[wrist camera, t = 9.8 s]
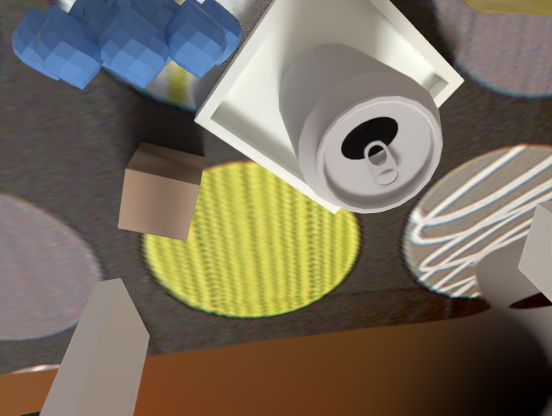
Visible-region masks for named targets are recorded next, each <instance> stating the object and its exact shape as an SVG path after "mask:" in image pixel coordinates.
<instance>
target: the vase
mask: <svg viewBox="0 0 552 416" xmlns="http://www.w3.org/2000/svg"><path fill="white" fill-rule="evenodd" d="M464 1H465V2H466V3H467V4H468V5H469V6H470V7H471V8H472V9H473V10H475V11H477V12H479V13H484V14H498V13H519V14H533V15H546V16H552V0H464Z"/></svg>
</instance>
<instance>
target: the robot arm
mask: <svg viewBox="0 0 552 416" xmlns="http://www.w3.org/2000/svg"><path fill="white" fill-rule="evenodd" d="M518 269H519V270H520V271H521V272H522V273H523V274H524V275H525V276H526V277H527V278H528V279H529V280H530V281H531V282H532V283H533V284H534V285H535V286H536V287H537V288H538V289H539V290H540V291H541V292H542V293H543V294H544V295H545V296H546V297H547V298H548V299H549V300H550V301H551V302H552V201H546V202H541V203H538V204H537V207H536V210H535V214H534V217H533V220H532V223H531V227H530V230H529V233H528V236H527V240H526V243H525V246H524V249H523V253H522V256H521V259H520V262H519V266H518ZM149 337H150V336H149V334H148V332H147V330H146V328H145V326H144V324H143V322H142V320H141V318H140V316H139V314H138V312H137V310H136V308H135V306H134V304H133V302H132V300H131V298H130V296H129V294H128V292H127V290H126V288H125V286H124V284H123V282H122V280H121V278H119V279H113V280H108V281H102V282H97V283H95V285H94V287H93V290H92V292H91V294H90V297H89V299H88V301H87V304H86V306H85V309H84V311H83V313H82V316H81V318H80V320H79V323H78V325H77V328H76V330H75V332H74V335H73V337H72V339H71V342H70V344H69V346H68V349H67V351H66V354H65V356H64V358H63V361H62V363H61V365H60V368H59V370H58V373H57V375H56V377H55V380H54V382H53V384H52V387H51V389H50V392H49V394H48V396H47V399H46V401H45V404H44V406H43V408H42V411H41V412H36V413H30V414H25V415H21V416H133V413H134V409H135V404H136V399H137V394H138V389H139V384H140V379H141V375H142V370H143V365H144V361H145V356H146V351H147V346H148V341H149Z"/></svg>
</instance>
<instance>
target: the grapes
mask: <svg viewBox="0 0 552 416" xmlns="http://www.w3.org/2000/svg"><path fill="white" fill-rule="evenodd" d="M242 36H243V35H242V30H241V27H240V24H239V22H238V20H237V19H236V18H235V17H234V16H233V15H232V14H231V13H230V12H229V11H227V10H226V9H225V8H224V7H223V6H222V5H221V4H219V3H218V2H217V1H215V0H205V1H204V2H203V3H202V4H200V3H199V2H198V1H196V0H186V1H185V2H184V3H183V4H182V5H179V4H177V3H176V2H175V1H174V0H76V1H75V3H74V4H73V6H72V8H71V9H70V11H69V13H67V12H65V11H63V10H62V9H60V8H58V7H57V6H55V5H52V6H51V7H50V9H49V10H48V11H47V12H46V13H45V14H43V13H41V12H39V11H38V10H36V9H34V8H31V9H30V10H29V11H28V12H27V14H26V15H25V16H24V17H23V19H22V20H21V22H20V23H19V25H18V27H17V28H16V30H15V32H14V33H13V35H12V46H13V50H14V53H15V54H16V55H17V56H18V57H19V58H20V59H21V60H22V62H24V63H25V64H27V65H28V66H30V67H31V68H33V69H35V70H37V71H39V72H41V73H42V74H44V75H46V76H49V77H51V78H53V79H55V80H57V81H58V80H59V79H62V80H64V81H66V82H67V83H69V84H72V85H74V86H76V87H78V88H80V89H84V88H85V86H86V85H87V84H88V83H89V82H90V81H91V80H92V79H93V78H94V77H95V75H96V74H97V73H98V72H99V70H100V68H101V67H102V66H105V67H107V68H109V69H110V70H112V71H115V72H116V73H117V74H118V75H119V76H121V77H123V78H125V79H126V80H128V81H130V82H132V83H134V84H135V85H137V86H139V87H141V88H143V89H144V88H145V87H146V86H147V85H149V84H150V83H151V82H152V81H153V80H154V79H155V78H156V76H157V75H158V74H159V73H160V72H161V71H162V70H163V67H165V66H166V65H167V64H168V63H169V62H170V61H171V60H173V61H175V62H176V63H177V64H178V65H179V66H181V67H182V68H184V69H186V70H187V71H189V72H190V73H192V74H194V75H195V76H197V77H198V78H201V77H203V76H204V75H205V74H206V73H207V72H208V71H210V70H211V69H212V67H213V66H214V65H217V66H219V65H220V64H221V63H223V62H224V61H225V60H226V59H227V58H228V57H229V56H230V55H231V54H232V53H233V52H234V51H235V49H236V48H237V47H238V45H239V44H240V41H241V38H242Z"/></svg>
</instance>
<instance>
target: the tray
mask: <svg viewBox="0 0 552 416" xmlns="http://www.w3.org/2000/svg"><path fill="white" fill-rule="evenodd" d="M335 43H341V44H344V45H347V46H350V47H353V48H356V49H358V50H360V51H362V52H364V53H365V54H367V55H369V56H371V57H373V58H375V59H377V60H379V61H381V62H382V63H384V64H386V65H388V66H390V67H392V68H394V69H396V70H398V71H399V72H401V73H403V74H405V75H407V76H409V77H411V78H413V79H414V80H415V81H416V82H418V83H419V84H420V85H421V86H422V87H424V88H425V89H426V90H427V91H428V92H429V93H430V95H431V97H432V98H433V100H434V102H435V104H436V106H437V108H438V107H439V106H440V105H441V104H442V103H443V102H444V101H445V100H446V99H447V98H448V97H449V96H450V95H451V94H452V93H453V92H454V91H455V90H456V89H457V88H458V87H459V86H460V85H461V84H462V83H463V82H464V80H463V79H462V78H461V77H460V75H459V74H458V73H457V72H456V71H455V70H454V69H453V68H452V67H451V66H450V65H449V64H448V63H447V62H446V60H445V59H444V58H443V57H442V56H441V55H440V54H439V53H438V52H437V51H436V50H435V49H434V48H433V47H432V45H431V44H430V43H429V42H428V41H427V40H426V39H425V38H424V37H423V36H422V35H421V34H420V33H419V32H418V30H417V29H416V28H415V27H414V26H413V25H412V24H411V23H410V22H409V21H408V20H407V19H406V18H405V17H404V15H403V14H402V13H401V12H400V11H399V10H398V9H397V8H396V7H395V6H394V5H393V4H392V3H391V1H390V0H272V1H271V3H270V4H269V6H268V7H267V9H266V10H265V12H264V13H263V15H262V16H261V18H260V19H259V21H258V22H257V24H256V25H255V27H254V28H253V30H252V31H251V32H250V34H249V35H248V37H247V38H246V40H245V41H244V43H243V44H242V46H241V47H240V49H239V50H238V52H237V53H236V55H235V56H234V58H233V59H232V61H231V62H230V64H229V65H228V66H227V68H226V69H225V71H224V72H223V74H222V75H221V77H220V78H219V80H218V81H217V83H216V84H215V86H214V87H213V89H212V90H211V92H210V93H209V95H208V96H207V98H206V99H205V101H204V102H203V103H202V105H201V106H200V108H199V109H198V111H197V112H196V116H195V120H194V121H195V122H197V123H198V124H200V125H201V126H203V127H204V128H206V129H207V130H209V131H210V132H212V133H213V134H215V135H216V136H218V137H219V138H221V139H222V140H224V141H225V142H227V143H228V144H230V145H231V146H233V147H234V148H236V149H237V150H239V151H240V152H242V153H243V154H245V155H246V156H248V157H249V158H251V159H252V160H254V161H255V162H257V163H258V164H260V165H261V166H263V167H264V168H266V169H267V170H269V171H270V172H272V173H273V174H275V175H276V176H278V177H279V178H281V179H282V180H284V181H285V182H287V183H288V184H290V185H291V186H293V187H295V188H296V189H298V190H299V191H301V192H302V193H304V194H305V195H307V196H308V197H310V198H311V199H313V200H314V201H316V202H317V203H319V204H320V205H322V206H323V207H325V208H326V209H328V210H329V211H331V212H332V213H334V214H335V213H336V212H337V211H338V210H339V209H340V208H341V207H340V206H335V205H332V204H331V203H329V202H327V201H326V200H324V199H322V198H320V197H319V196H317V195H316V194H315V192H314V191H313V190H312V189H311V188H310V186H309V185H308V184H307V183H306V182H305V179H304V177H303V174H302V171H301V168H300V166H299V163H298V160H297V158H296V155H295V152H294V149H293V147H292V144H291V141H290V139H289V136H288V133H287V130H286V128H285V125H284V122H283V120H282V117H281V114H280V111H279V94H278V93H279V90H280V86H281V83H282V79H283V76H284V75H285V73H286V72H287V70H288V69H289V67H290V66H291V64H292V63H293V62H294V61H295V60H296V59H297V58H298V57H300V56H301V55H302V54H303V53H304V52H306V51H307V50H309V49H312V48H314V47H317V46H319V45H322V44H335Z"/></svg>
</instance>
